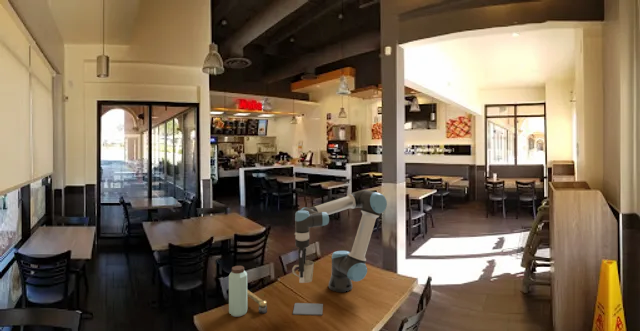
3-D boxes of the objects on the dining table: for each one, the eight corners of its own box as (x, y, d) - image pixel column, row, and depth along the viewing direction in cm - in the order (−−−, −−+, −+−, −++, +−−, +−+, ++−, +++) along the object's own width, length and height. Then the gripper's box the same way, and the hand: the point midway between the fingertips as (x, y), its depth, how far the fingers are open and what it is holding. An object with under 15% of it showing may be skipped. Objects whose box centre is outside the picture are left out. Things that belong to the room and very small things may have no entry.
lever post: (267, 309, 192) (267, 304, 191) (266, 313, 187) (266, 308, 187) (259, 309, 192) (259, 304, 192) (258, 313, 187) (258, 308, 187)
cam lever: (245, 290, 209) (245, 285, 208) (268, 306, 189) (268, 301, 189) (239, 292, 206) (239, 287, 206) (261, 309, 186) (261, 303, 186)
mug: (312, 284, 187) (311, 266, 187) (289, 282, 190) (289, 264, 189) (315, 278, 195) (315, 260, 195) (294, 276, 198) (294, 259, 198)
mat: (323, 304, 198) (323, 303, 198) (322, 315, 186) (322, 314, 186) (295, 303, 199) (295, 302, 199) (292, 314, 187) (292, 313, 187)
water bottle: (231, 319, 181) (230, 272, 179) (226, 310, 190) (226, 266, 188) (250, 315, 186) (249, 269, 184) (244, 306, 195) (244, 263, 193)
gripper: (297, 234, 200) (298, 273, 202) (293, 244, 181) (293, 287, 183) (310, 234, 200) (310, 273, 202) (307, 244, 181) (307, 287, 183)
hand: (302, 279), depth 193 cm, fingers closed on mug, 6 cm apart
